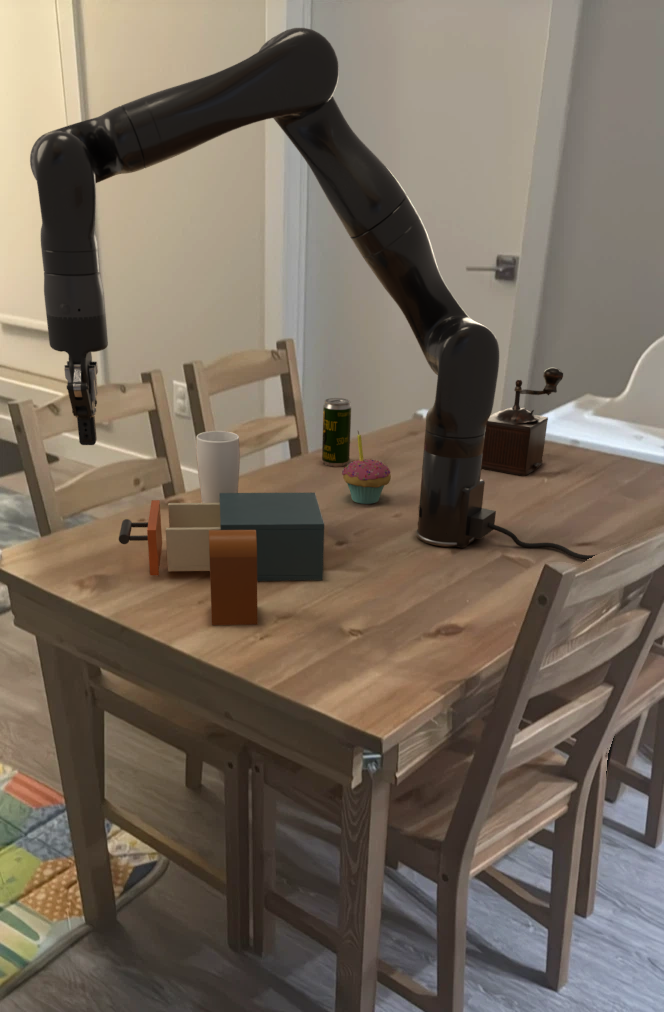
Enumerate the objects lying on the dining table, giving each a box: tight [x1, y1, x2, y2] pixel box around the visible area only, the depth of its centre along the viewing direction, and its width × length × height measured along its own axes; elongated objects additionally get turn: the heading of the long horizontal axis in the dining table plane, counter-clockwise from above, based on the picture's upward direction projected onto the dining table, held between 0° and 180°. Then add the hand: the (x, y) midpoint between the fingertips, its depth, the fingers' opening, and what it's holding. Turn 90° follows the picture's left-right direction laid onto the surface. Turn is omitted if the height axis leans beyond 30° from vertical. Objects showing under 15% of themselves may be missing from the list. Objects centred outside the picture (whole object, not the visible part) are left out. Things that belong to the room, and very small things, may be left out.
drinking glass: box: [195, 430, 241, 503], centre depth 157 cm, size 7×7×15 cm
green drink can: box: [321, 397, 352, 468], centre depth 192 cm, size 5×5×12 cm
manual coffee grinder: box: [481, 366, 564, 477], centre depth 194 cm, size 16×11×18 cm
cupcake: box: [341, 429, 392, 505], centre depth 173 cm, size 9×8×12 cm
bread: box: [209, 530, 259, 626], centre depth 129 cm, size 6×5×12 cm
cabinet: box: [220, 491, 325, 582], centre depth 147 cm, size 15×14×9 cm
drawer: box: [118, 499, 221, 576], centre depth 145 cm, size 18×13×7 cm
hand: (88, 443), depth 137 cm, fingers closed
